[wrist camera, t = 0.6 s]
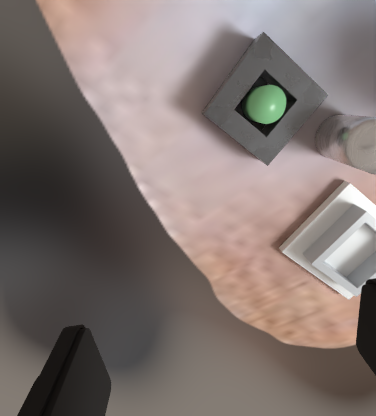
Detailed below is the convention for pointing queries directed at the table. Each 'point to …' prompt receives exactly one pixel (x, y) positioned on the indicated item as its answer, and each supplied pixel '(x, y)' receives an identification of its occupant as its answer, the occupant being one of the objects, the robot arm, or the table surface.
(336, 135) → the cylinder
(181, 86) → the table surface
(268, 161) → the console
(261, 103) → the button
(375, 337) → the robot arm
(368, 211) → the white square tray
